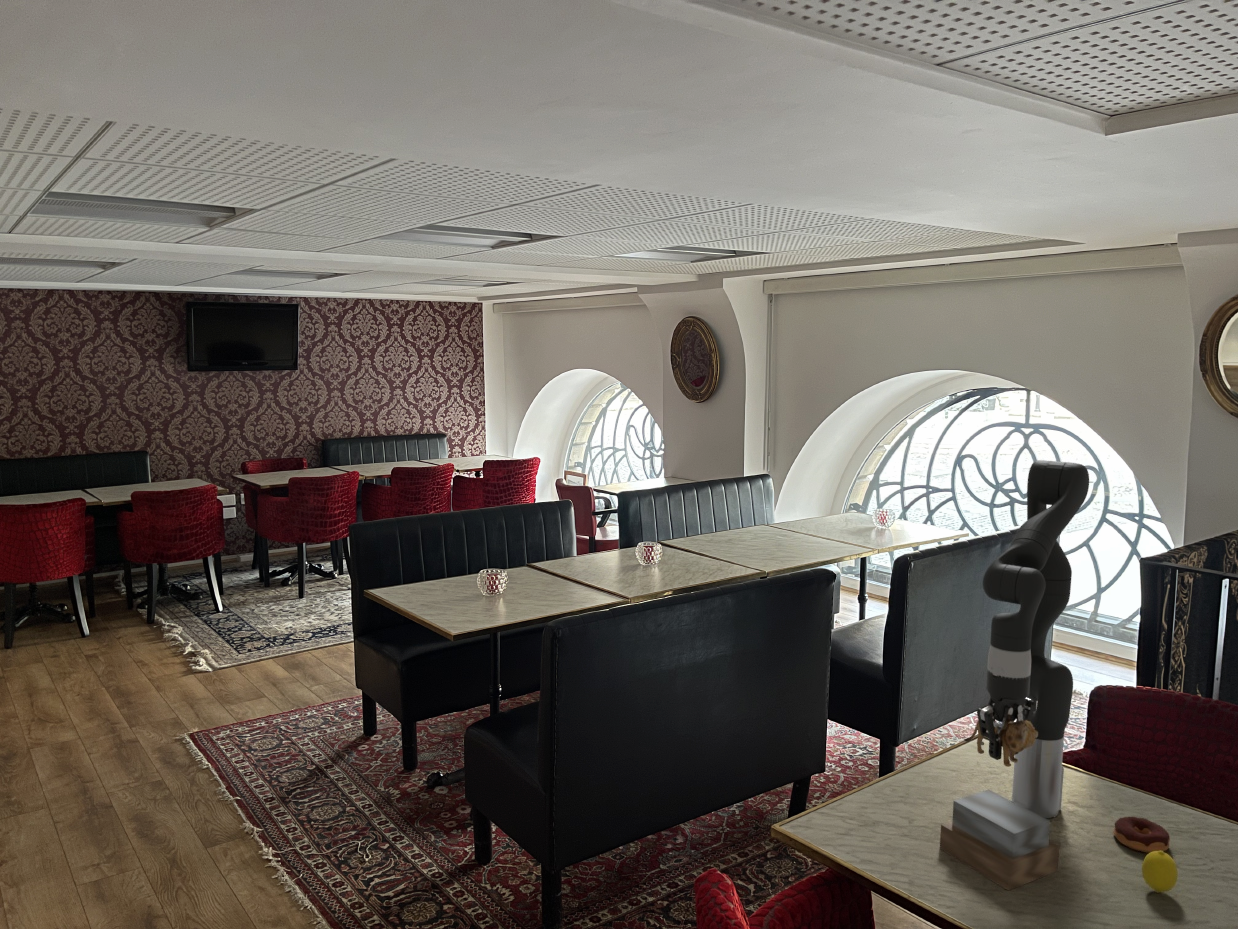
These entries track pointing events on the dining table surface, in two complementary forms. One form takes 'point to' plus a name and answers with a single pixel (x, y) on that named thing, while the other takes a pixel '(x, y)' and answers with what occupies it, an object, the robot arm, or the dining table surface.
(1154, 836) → the donut
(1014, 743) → the lion figurine
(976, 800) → the two-tone block
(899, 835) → the dining table surface
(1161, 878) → the lemon
